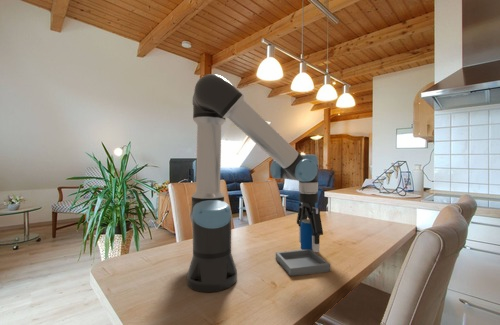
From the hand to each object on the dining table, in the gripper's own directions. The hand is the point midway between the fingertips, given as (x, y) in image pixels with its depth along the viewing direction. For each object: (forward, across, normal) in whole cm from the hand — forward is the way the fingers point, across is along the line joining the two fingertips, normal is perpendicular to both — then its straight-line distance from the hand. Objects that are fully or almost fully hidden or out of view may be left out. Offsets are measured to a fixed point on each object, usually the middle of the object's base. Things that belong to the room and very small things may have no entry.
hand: (308, 246), depth 97 cm
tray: (+1, -12, +9) cm, 15 cm away
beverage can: (+2, 0, 0) cm, 2 cm away
